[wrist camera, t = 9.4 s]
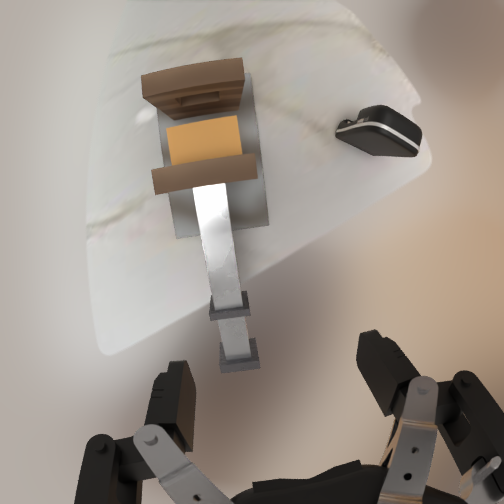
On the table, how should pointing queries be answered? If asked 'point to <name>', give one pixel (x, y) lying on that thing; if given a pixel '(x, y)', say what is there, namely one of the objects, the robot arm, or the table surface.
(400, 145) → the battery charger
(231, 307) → the shaft
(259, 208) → the stand
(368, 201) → the table surface
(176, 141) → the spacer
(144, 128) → the table surface
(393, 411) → the robot arm
